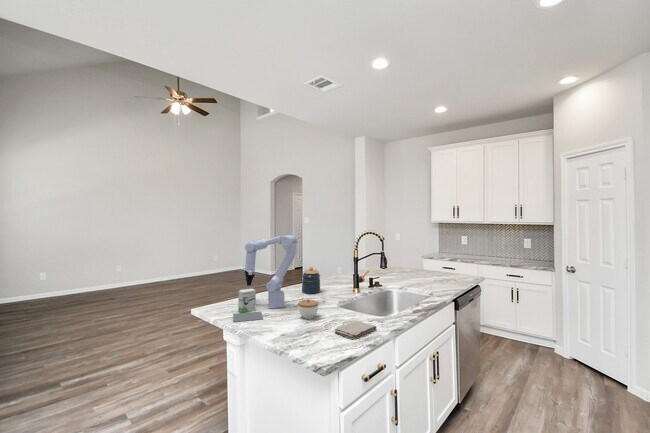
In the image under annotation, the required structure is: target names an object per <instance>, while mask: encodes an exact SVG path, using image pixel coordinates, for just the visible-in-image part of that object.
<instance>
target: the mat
mask: <svg viewBox="0 0 650 433" xmlns="http://www.w3.org/2000/svg"><path fill="white" fill-rule="evenodd" d="M232 315H233V316H232V322H233V323H239V322H249V321H250V322H251V321H261V320H264V316H263V313H262V311H249V312H244V313H241V312H239V313H232Z"/></svg>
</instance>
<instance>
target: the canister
mask: <svg viewBox="0 0 650 433" xmlns="http://www.w3.org/2000/svg"><path fill="white" fill-rule="evenodd" d="M302 273H303V274H302V275H301V277H302V279H301V291H302V292H301V293H303V294H305V295H306V294H307V295H316V293H317V294H319V293H320V292H321V279H320V278H321V274H320V271H319V270H317V269H314V268H313V267H312V266H310V267H309V268H307V269H305V270H304V271H302Z"/></svg>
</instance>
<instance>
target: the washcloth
mask: <svg viewBox="0 0 650 433" xmlns="http://www.w3.org/2000/svg"><path fill="white" fill-rule="evenodd" d="M376 330H377V325H374V324H370V323H365V322H362V321H358V320H355V321H353V322H349V323H347V324H344V325H341V326H339V327H337V328H335V329H334V331H335V332H334V334H336V335H338V336H340V337H343V338H346V339H348V340H357V339H359V338H362V337H364V336H366V335H369V334H370V332H371V333H373V332H375V331H376ZM372 331H373V332H372ZM368 333H369V334H368Z"/></svg>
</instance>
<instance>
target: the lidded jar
mask: <svg viewBox="0 0 650 433" xmlns="http://www.w3.org/2000/svg"><path fill="white" fill-rule="evenodd" d="M297 304H298V307H297V308H298V312H299V315H300V316H301V317H302V318H303V319H306V320H310V319H311V320H312V319H314V318H315V317H316V316H317V314H318V310H319V302H318V301H317V300H314V299H310V298H309V299H303V300H299V301H298V303H297Z"/></svg>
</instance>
